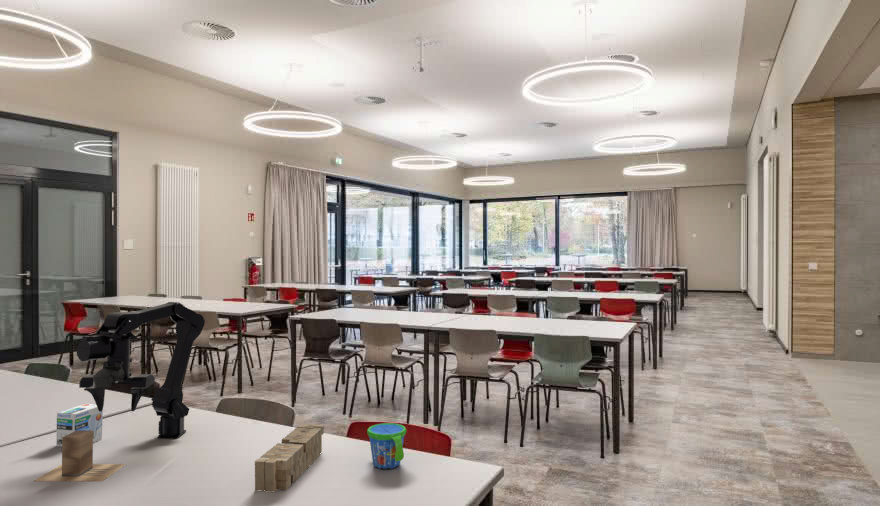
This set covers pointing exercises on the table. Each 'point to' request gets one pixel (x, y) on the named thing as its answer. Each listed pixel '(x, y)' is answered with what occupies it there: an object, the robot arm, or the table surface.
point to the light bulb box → (79, 422)
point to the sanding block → (77, 453)
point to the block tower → (288, 458)
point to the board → (95, 474)
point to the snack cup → (386, 444)
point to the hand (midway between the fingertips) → (116, 411)
